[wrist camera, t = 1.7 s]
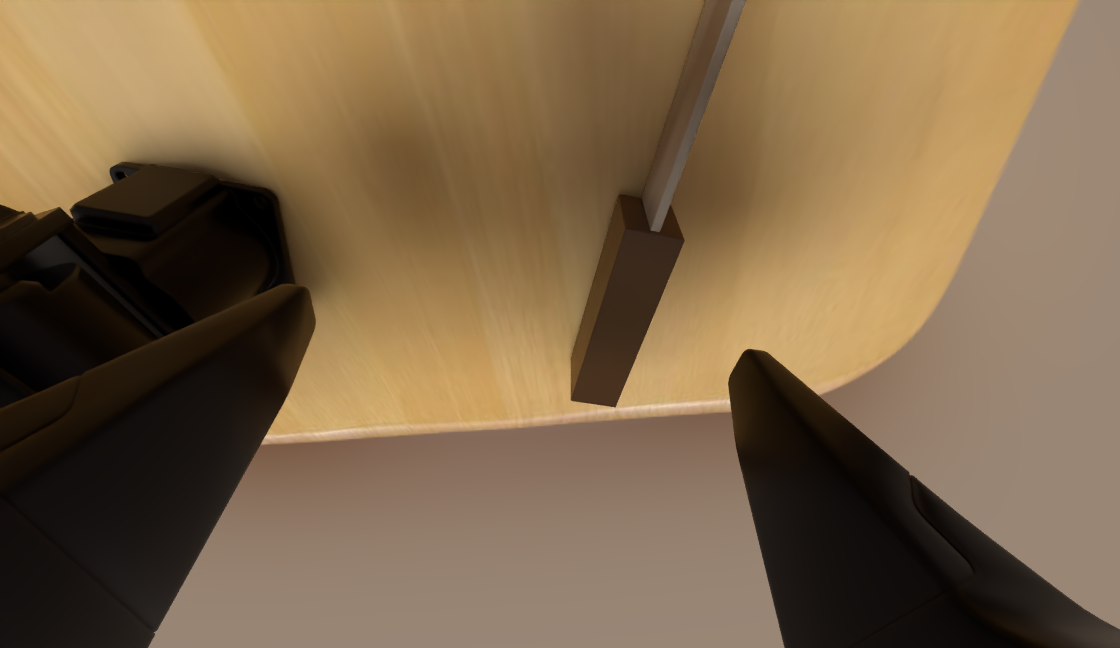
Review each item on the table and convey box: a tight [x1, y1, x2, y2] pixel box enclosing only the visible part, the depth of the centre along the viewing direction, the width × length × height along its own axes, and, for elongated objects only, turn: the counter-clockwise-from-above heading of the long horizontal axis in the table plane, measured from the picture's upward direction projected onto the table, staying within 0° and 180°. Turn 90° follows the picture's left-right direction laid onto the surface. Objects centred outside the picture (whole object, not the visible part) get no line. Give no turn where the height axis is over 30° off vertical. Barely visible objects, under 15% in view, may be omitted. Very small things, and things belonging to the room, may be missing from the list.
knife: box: [571, 0, 746, 407], centre depth 19 cm, size 20×2×3 cm, turn 169°
